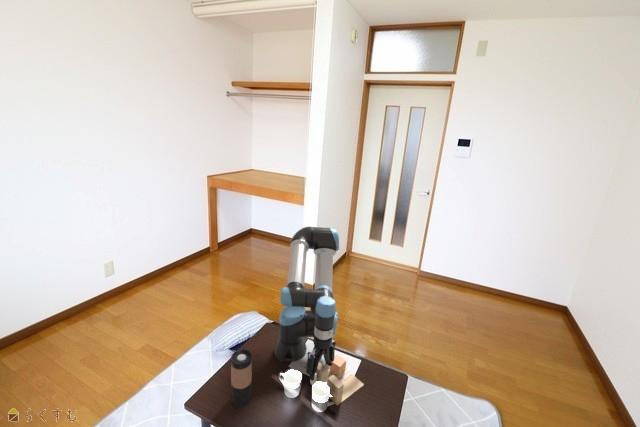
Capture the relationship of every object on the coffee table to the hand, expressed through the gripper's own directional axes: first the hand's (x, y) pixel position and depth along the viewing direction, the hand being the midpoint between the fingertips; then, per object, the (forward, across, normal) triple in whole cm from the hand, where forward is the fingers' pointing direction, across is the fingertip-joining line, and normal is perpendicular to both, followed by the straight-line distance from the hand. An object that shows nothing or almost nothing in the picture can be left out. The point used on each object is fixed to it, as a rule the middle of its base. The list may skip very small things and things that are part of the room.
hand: (319, 380), depth 126 cm
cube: (+1, +11, 0) cm, 11 cm away
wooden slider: (+2, +6, 0) cm, 7 cm away
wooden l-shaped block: (+2, +6, -9) cm, 11 cm away
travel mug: (+3, -28, +14) cm, 32 cm away
